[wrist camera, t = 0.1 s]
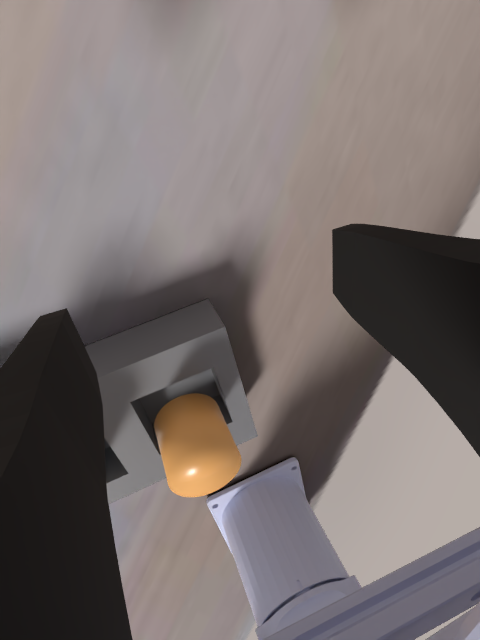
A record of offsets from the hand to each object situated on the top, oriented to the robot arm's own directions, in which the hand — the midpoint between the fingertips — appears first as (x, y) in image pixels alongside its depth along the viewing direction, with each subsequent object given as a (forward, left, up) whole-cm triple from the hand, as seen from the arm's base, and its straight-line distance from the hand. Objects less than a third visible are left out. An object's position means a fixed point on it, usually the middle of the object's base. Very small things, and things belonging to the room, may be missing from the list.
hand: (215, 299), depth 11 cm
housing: (-11, +6, -10) cm, 16 cm away
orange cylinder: (-11, +2, -6) cm, 13 cm away
